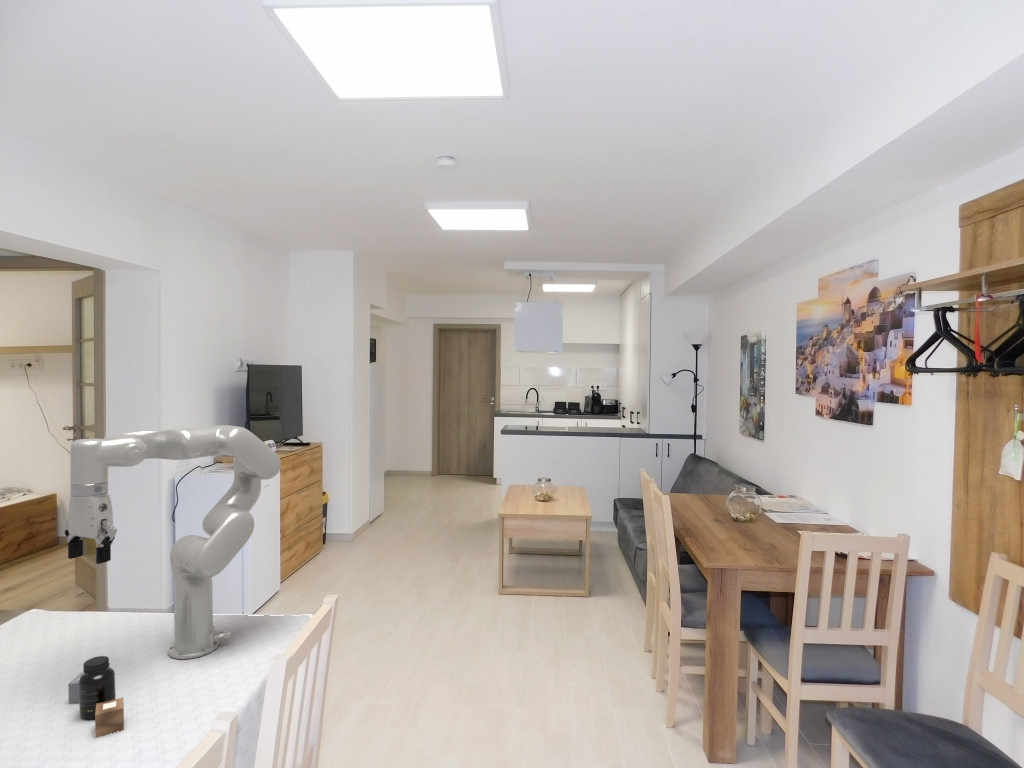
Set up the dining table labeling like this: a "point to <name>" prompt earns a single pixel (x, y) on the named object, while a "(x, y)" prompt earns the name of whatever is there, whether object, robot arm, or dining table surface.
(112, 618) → the dining table surface
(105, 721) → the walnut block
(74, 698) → the slate grey block
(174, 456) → the robot arm
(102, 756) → the dining table surface
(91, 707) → the supplement bottle
